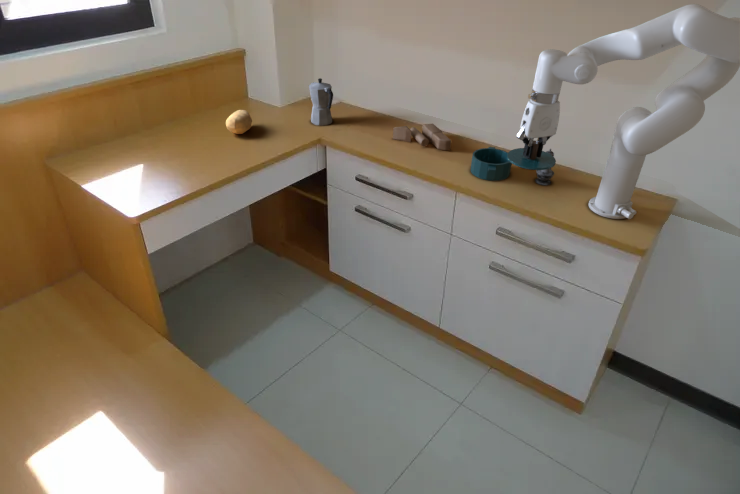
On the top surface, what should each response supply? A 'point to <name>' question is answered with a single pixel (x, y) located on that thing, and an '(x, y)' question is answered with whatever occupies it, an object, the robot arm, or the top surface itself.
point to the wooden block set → (423, 136)
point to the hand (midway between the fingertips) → (531, 155)
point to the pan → (490, 164)
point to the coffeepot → (321, 103)
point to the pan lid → (534, 162)
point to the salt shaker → (545, 174)
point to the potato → (239, 122)
